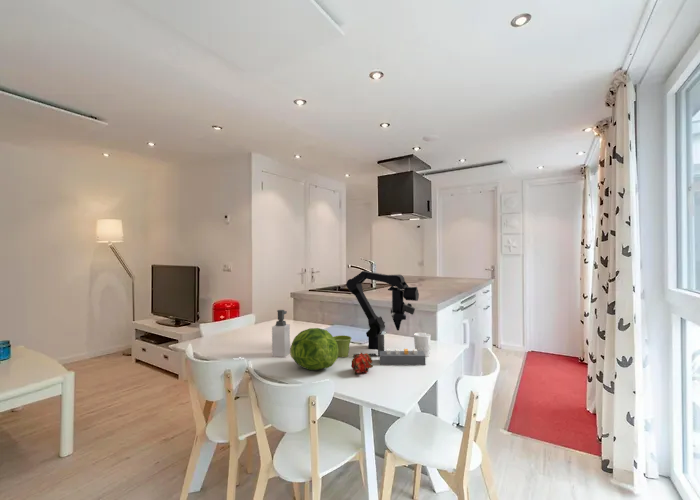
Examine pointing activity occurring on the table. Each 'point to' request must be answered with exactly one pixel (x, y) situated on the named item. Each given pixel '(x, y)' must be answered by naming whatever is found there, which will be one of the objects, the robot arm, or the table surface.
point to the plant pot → (343, 345)
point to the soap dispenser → (281, 336)
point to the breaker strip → (402, 357)
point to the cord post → (380, 343)
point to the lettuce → (314, 349)
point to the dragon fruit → (361, 363)
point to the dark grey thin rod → (368, 354)
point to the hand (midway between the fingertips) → (397, 330)
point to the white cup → (422, 343)
